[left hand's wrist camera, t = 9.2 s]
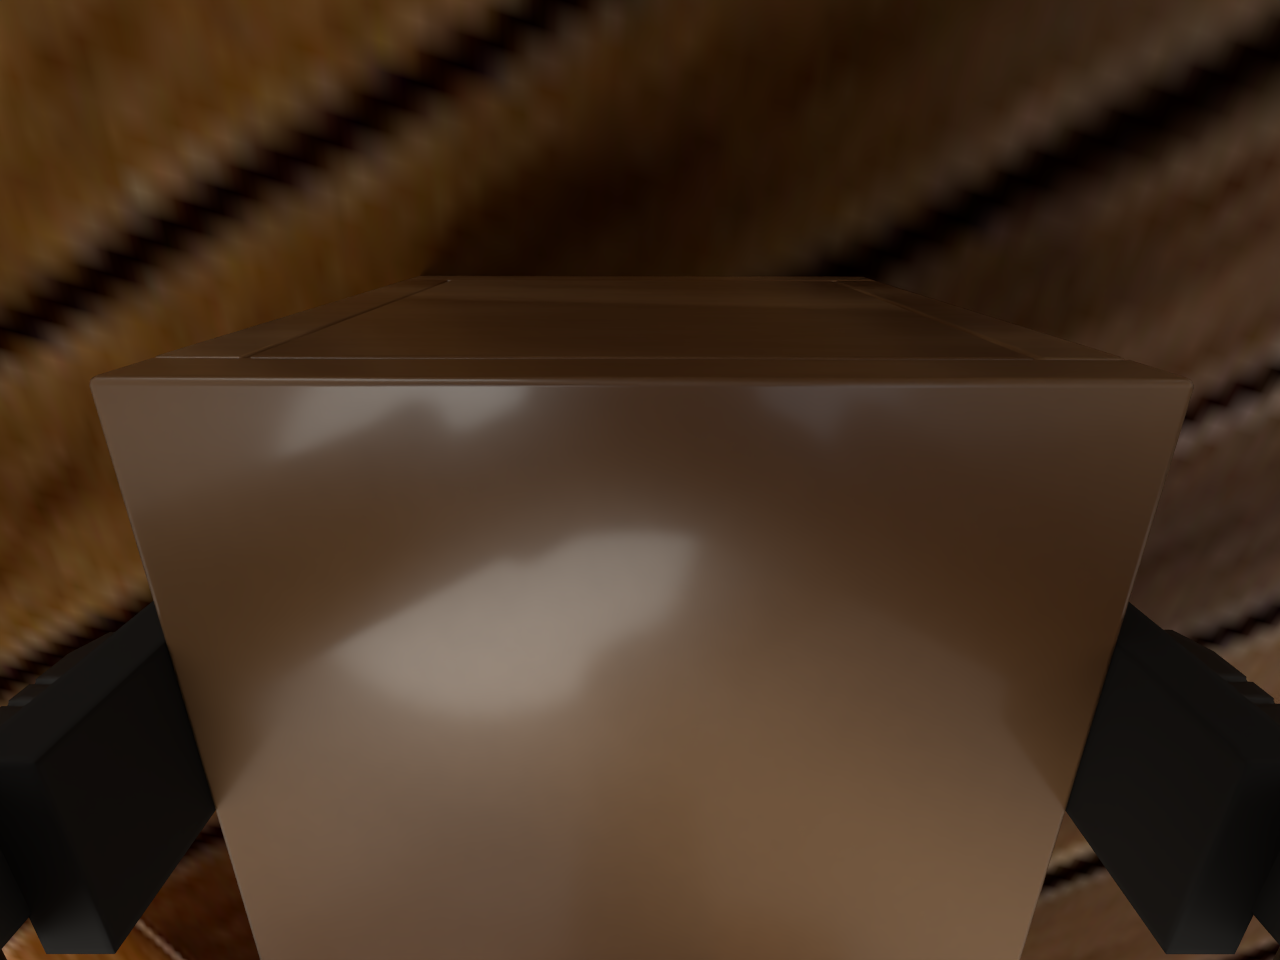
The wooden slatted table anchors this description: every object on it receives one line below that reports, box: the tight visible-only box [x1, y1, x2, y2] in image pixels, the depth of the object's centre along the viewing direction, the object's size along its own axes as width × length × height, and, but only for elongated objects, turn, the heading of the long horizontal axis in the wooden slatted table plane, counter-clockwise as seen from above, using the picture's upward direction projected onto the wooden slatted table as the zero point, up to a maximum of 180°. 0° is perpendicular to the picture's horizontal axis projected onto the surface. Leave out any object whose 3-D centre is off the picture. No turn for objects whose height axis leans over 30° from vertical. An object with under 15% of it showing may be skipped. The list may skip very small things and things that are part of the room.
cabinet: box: [90, 276, 1193, 960], centre depth 16 cm, size 22×12×12 cm, turn 0°
